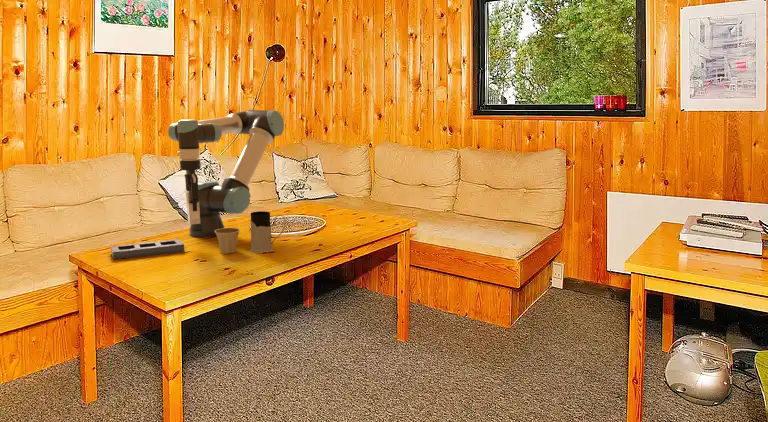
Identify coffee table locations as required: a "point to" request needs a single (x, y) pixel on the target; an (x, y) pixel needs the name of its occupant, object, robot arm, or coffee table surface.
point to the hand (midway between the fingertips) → (193, 217)
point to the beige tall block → (190, 221)
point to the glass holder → (262, 232)
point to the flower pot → (227, 239)
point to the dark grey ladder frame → (147, 249)
